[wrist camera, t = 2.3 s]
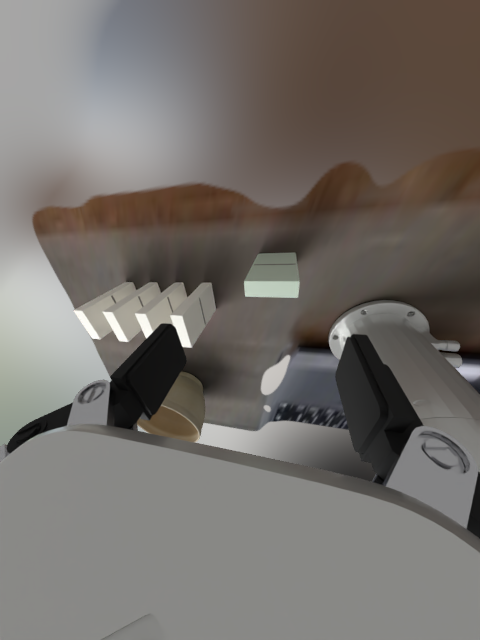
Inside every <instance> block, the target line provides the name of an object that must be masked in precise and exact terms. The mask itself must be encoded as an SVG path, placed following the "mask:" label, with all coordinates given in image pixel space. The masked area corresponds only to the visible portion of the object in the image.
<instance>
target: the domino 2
mask: <svg viewBox="0 0 480 640" xmlns="http://www.w3.org/2000/svg"><path fill="white" fill-rule="evenodd" d="M160 293H161V292H160V289H159V286H158V283H157V282H149V283H147V284H146V285H144V286H143V287H141V288H139V289H138V290H136V291H135V292H133V293H131V294H130V295H128V296H127V297H125V298H123V299H122V300H120V301H119V302H117V303H115V304H114V305H112V306H111V307H109V308H107V309H106V310H104V311H103V314H104V315H105V317H106V319H107V321H108V322H109V324H110V326H111V328H112V329H113V331H114V333H115V334H116V336H117V338H118V340H119V341H124V342H129V341H130V340H131V339H132V338H133V337H134V336H135V335H137V334H138V333H139V332H140V331H141V330H142V328H141V326H140V324H139V322H138V320H137V318H136V315H135V313H136V312H137V311H138V310H140V309H141V308H142V307H143V306H145V305H146V304H147V303H149V302H150V301H151V300H153V299H154V298H155V297H156V296H158V295H159V294H160Z"/></svg>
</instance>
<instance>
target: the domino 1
mask: <svg viewBox="0 0 480 640" xmlns="http://www.w3.org/2000/svg"><path fill="white" fill-rule="evenodd" d="M135 291H136V288H135V286H134V283H133V282H125V283H123V284H121V285H119V286H117V287H116V288H114V289H112V290H110V291H108V292H106V293H104V294H102V295H101V296H99V297H97V298H95V299H93V300H91V301H89V302H88V303H86V304H84V305H82V306H80V307H78V308H76V309H75V310H73V311H74V312H75V314H76V315H77V317H78V318H79V320H80V321H81V322H82V324H83V326H84V327H85V328H86V330H87V331H88V333H89V334H90V336H91V337H92V339H102V338H103V337H104V336H106V335H107V334H108V333H110V332H111V331H112V330H113V329H112V328H111V326H110V324H109V322H108V321H107V319H106V317H105V315H104V314H103V311H104V310H106V309H107V308H109V307H111V306H112V305H114V304H115V303H117V302H119V301H120V300H122V299H123V298H125V297H127V296H128V295H130V294H131V293H133V292H135Z"/></svg>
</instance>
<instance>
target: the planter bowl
mask: <svg viewBox="0 0 480 640" xmlns="http://www.w3.org/2000/svg"><path fill="white" fill-rule="evenodd" d="M204 417H205V400H204V396H203V385H202V383H201V382H200V381H199V380H198V379H197V378H196V377H195V376H193V375H191V374H189V373H186V372H182V371H181V372H180V374H179V376H178V377H177V379H176V381H175V382H174V384H173V386H172V387H171V389H170V391H169V393H168V394H167V396H166V398H165V399H164V401H163V403H162V404H161V406H160V408H159V410H158V411H157V413H156V414H155V415H153V416H152V418H151V419H150V421H149V420H143V419H141V418H139V419H138V421H137V425H138V426H139V427H141V428H142V429H143V430H145V431H146V432H148V433H150V434H155V435H160V436H165V437H170V438H175V439H180V440H184V441H189V442H194V443H195V442H197V441H198V440H199V438H200V435H201V429H202V425H203V422H204Z"/></svg>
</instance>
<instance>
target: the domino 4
mask: <svg viewBox="0 0 480 640" xmlns="http://www.w3.org/2000/svg"><path fill="white" fill-rule="evenodd" d="M215 310H216V306H215V300H214V295H213V289H212V283H201V284H200V285H199V286H198V287H197V288H196V289H195V290H194V291H193V292H192V293H191V294H190V295H189V296H188V297H187V298H186V299H185V300H184V302H183V303H182V304H181V305H180V306H179V307H178V308H177V309H176V310H175V311H174V312H173V313H172V314H171V315H170V317H171V320H172V322H173V325H174V327H175V328H176V330H177V333H178V336H179V339H180V342H181V344H182V347H188V348H192V347H193V345H194V344H195V342H196V341H197V339H198V337H199V336H200V334H201V333H202V331H203V329H204V328H205V326H206V325H207V323H208V322H209V320H210V318H211V317H212V315H213V314H214V312H215Z"/></svg>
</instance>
